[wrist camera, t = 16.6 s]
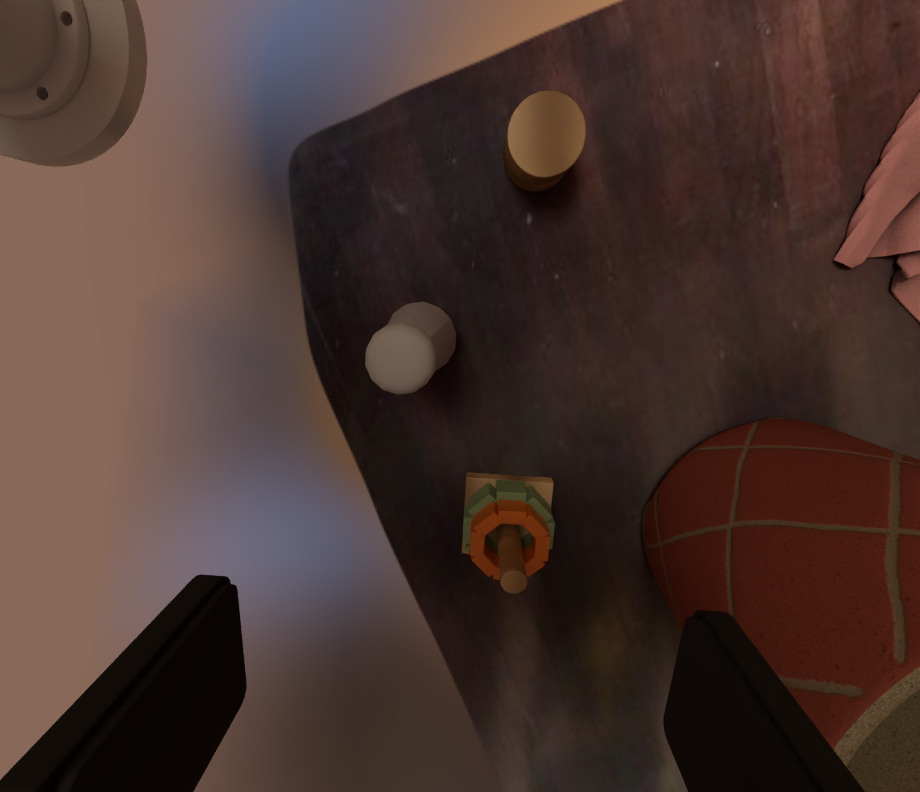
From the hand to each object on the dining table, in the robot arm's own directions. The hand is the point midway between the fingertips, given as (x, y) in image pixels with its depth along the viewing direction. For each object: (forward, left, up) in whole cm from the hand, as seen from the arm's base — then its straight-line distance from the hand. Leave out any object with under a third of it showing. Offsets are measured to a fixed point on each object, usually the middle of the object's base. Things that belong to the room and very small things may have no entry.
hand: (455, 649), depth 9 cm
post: (+4, -14, -30) cm, 34 cm away
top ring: (+4, -14, -27) cm, 30 cm away
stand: (+4, +17, -30) cm, 35 cm away
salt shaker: (-4, +3, -31) cm, 31 cm away
